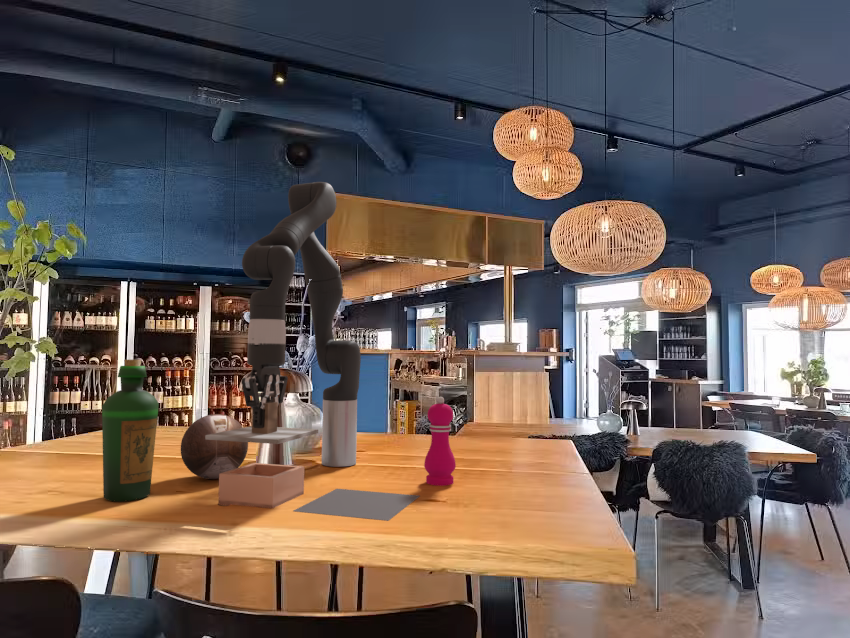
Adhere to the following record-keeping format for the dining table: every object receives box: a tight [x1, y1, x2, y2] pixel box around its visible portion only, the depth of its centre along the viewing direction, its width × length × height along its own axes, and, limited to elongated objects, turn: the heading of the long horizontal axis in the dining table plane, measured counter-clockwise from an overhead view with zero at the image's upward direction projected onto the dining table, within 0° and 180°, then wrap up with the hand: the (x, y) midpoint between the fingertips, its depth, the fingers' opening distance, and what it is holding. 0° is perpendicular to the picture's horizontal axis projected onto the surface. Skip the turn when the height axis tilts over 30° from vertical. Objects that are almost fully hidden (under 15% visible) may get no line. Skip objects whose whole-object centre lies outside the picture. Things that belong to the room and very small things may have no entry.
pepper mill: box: [423, 396, 456, 487], centre depth 133 cm, size 7×7×20 cm
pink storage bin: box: [217, 462, 305, 509], centre depth 117 cm, size 12×12×6 cm
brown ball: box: [180, 413, 249, 480], centre depth 137 cm, size 15×15×15 cm
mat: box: [293, 488, 421, 522], centre depth 113 cm, size 19×19×1 cm
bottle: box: [101, 359, 160, 503], centre depth 118 cm, size 11×11×28 cm
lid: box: [205, 402, 319, 445], centre depth 117 cm, size 16×16×7 cm
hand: (264, 426), depth 117 cm, fingers closed on lid, 3 cm apart
